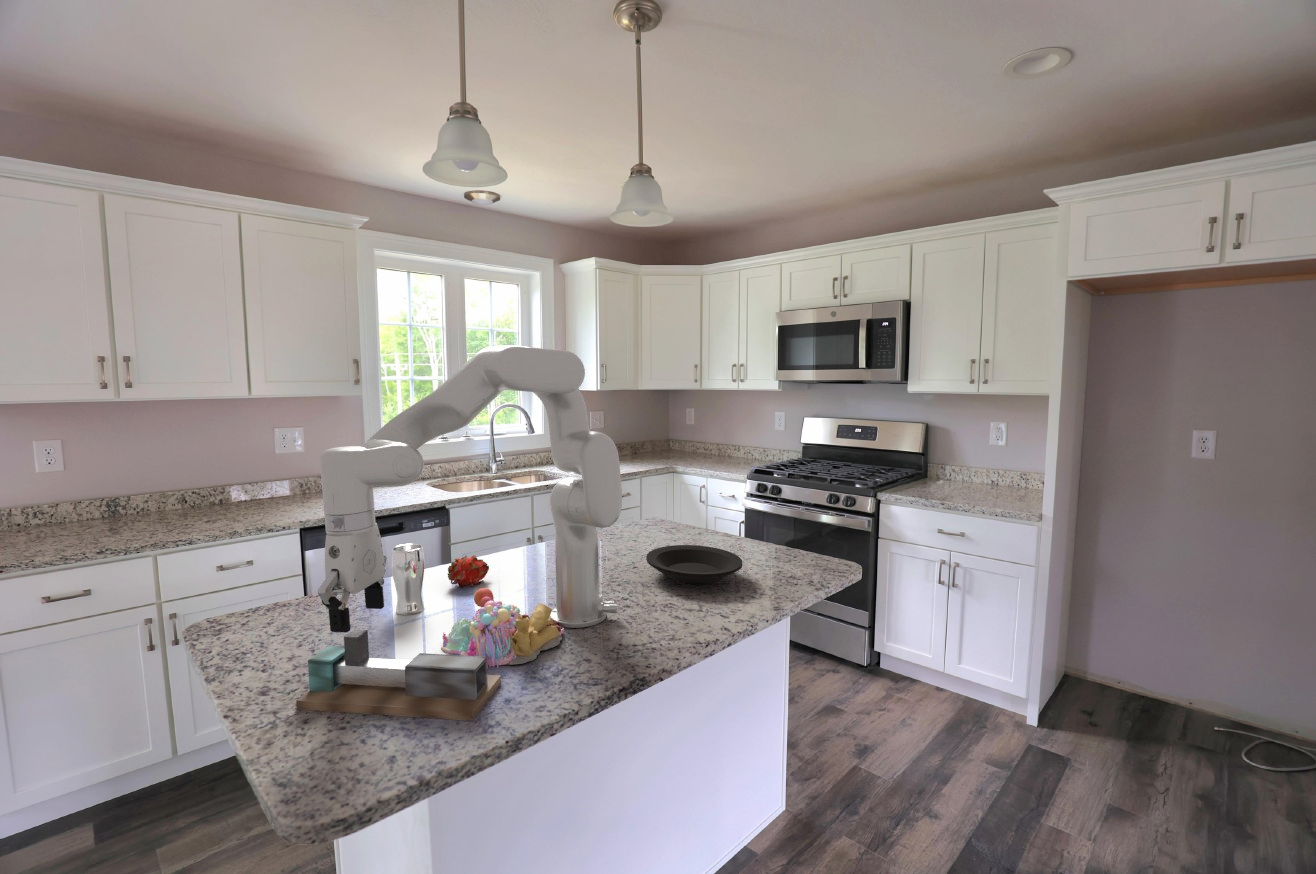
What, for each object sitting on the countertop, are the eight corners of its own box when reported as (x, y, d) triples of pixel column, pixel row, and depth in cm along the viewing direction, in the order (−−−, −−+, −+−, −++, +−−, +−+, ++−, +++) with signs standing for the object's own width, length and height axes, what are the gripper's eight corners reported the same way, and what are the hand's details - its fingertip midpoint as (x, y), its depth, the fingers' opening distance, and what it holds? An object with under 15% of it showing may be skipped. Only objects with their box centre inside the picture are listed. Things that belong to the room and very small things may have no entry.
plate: (763, 584, 161) (763, 563, 160) (689, 603, 148) (689, 580, 147) (696, 558, 184) (696, 540, 184) (628, 573, 171) (627, 553, 170)
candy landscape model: (579, 626, 136) (578, 584, 135) (535, 676, 113) (533, 627, 112) (475, 617, 141) (473, 577, 140) (412, 663, 118) (410, 616, 117)
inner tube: (437, 679, 106) (435, 633, 105) (428, 689, 103) (426, 641, 102) (334, 673, 108) (331, 628, 107) (322, 682, 105) (319, 635, 104)
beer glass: (414, 617, 140) (412, 552, 139) (387, 615, 141) (384, 550, 140) (432, 606, 147) (429, 544, 145) (405, 604, 148) (402, 542, 147)
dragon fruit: (443, 596, 158) (485, 591, 166) (458, 582, 153) (501, 578, 162) (437, 565, 161) (478, 562, 170) (451, 551, 157) (493, 548, 165)
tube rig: (501, 683, 109) (499, 646, 109) (472, 720, 97) (471, 679, 97) (342, 674, 113) (340, 638, 112) (296, 709, 101) (294, 669, 100)
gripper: (338, 535, 94) (347, 642, 96) (399, 509, 111) (406, 600, 113) (293, 534, 95) (303, 641, 97) (360, 508, 112) (367, 599, 114)
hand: (358, 619), depth 105 cm, fingers open, 9 cm apart
